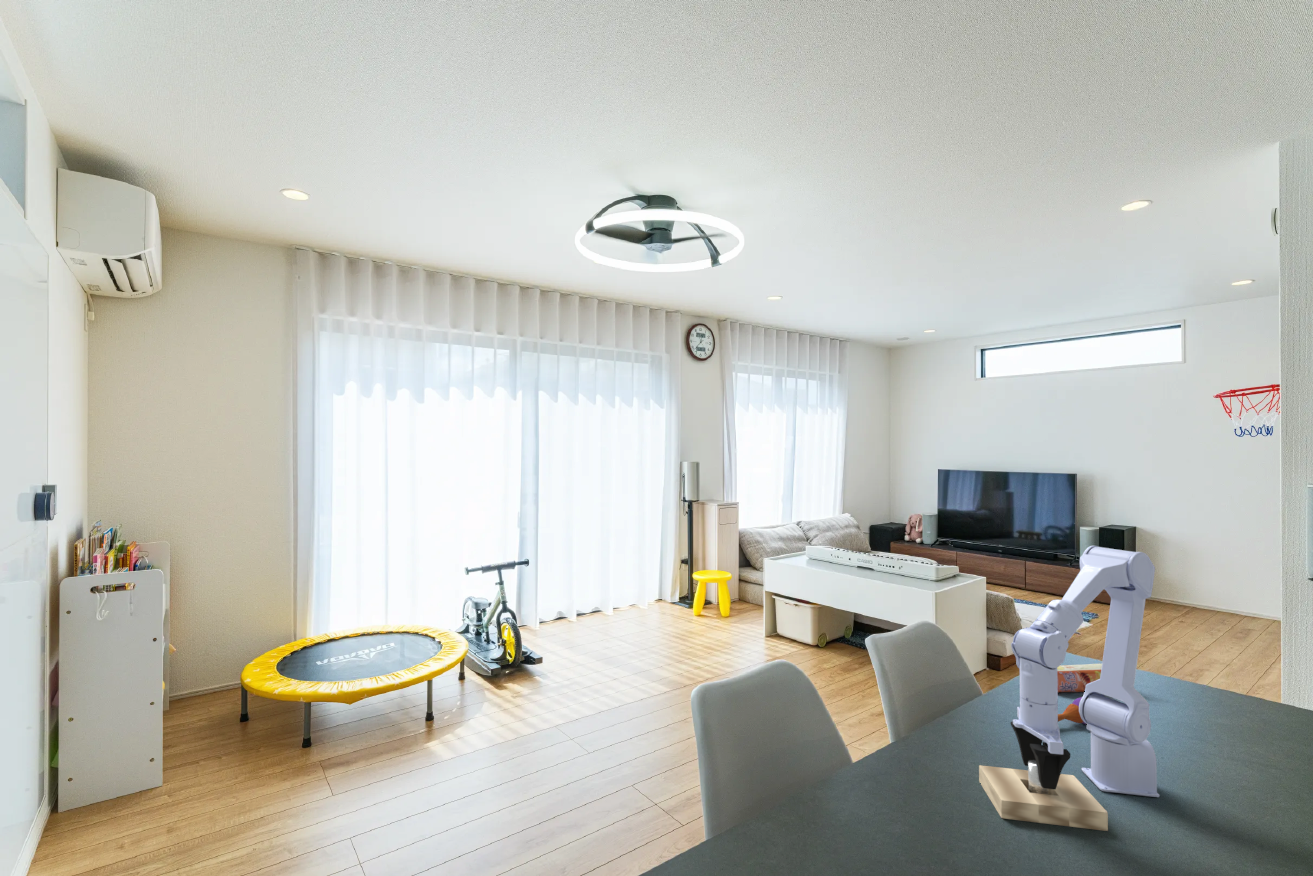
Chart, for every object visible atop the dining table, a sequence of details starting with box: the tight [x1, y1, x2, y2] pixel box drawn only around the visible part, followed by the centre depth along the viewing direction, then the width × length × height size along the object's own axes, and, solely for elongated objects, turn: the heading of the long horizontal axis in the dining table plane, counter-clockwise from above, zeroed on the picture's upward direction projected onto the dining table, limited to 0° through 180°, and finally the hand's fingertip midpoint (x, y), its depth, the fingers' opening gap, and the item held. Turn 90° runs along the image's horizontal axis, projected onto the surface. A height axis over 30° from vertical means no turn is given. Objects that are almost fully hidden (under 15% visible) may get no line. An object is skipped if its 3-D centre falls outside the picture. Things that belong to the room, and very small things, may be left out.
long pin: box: [1027, 760, 1048, 795], centre depth 108 cm, size 3×3×7 cm
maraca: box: [1058, 696, 1086, 725], centre depth 140 cm, size 6×6×20 cm
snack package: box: [1057, 663, 1102, 693], centre depth 162 cm, size 21×7×7 cm, turn 94°
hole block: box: [978, 765, 1109, 832], centre depth 108 cm, size 16×12×3 cm
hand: (1039, 776), depth 108 cm, fingers open, 7 cm apart
